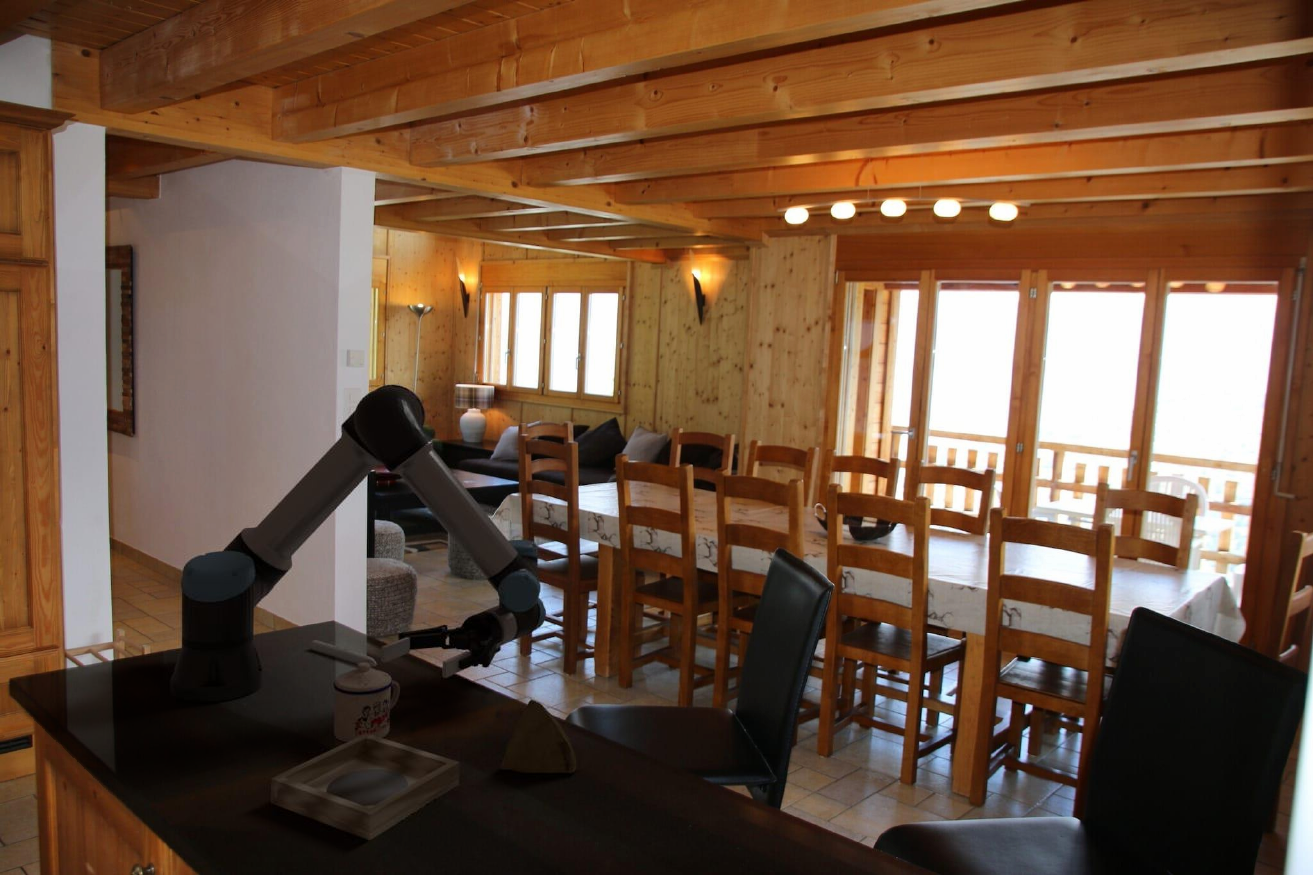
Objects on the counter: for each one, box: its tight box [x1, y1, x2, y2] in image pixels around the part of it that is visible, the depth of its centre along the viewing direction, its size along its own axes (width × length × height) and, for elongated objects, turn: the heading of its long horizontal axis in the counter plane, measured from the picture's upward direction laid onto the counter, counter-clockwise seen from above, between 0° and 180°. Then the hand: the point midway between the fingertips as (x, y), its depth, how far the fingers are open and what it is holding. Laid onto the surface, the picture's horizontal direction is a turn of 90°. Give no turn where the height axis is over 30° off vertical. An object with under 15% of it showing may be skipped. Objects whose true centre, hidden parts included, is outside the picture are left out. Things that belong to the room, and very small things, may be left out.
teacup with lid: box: [332, 662, 401, 743], centre depth 153 cm, size 12×9×12 cm
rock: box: [500, 699, 578, 774], centre depth 143 cm, size 11×9×10 cm
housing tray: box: [270, 733, 460, 841], centre depth 133 cm, size 18×18×4 cm
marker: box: [309, 639, 378, 668], centre depth 186 cm, size 18×2×2 cm, turn 59°
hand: (412, 662), depth 162 cm, fingers open, 13 cm apart
